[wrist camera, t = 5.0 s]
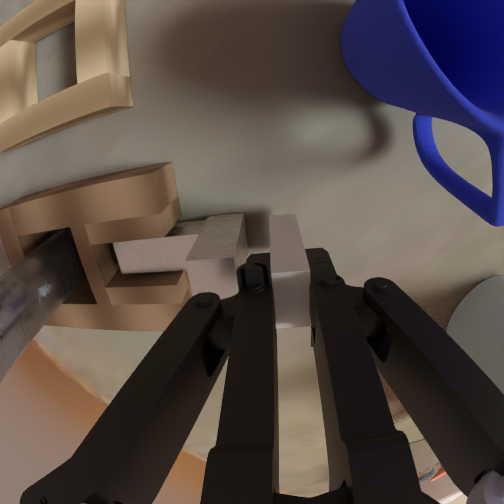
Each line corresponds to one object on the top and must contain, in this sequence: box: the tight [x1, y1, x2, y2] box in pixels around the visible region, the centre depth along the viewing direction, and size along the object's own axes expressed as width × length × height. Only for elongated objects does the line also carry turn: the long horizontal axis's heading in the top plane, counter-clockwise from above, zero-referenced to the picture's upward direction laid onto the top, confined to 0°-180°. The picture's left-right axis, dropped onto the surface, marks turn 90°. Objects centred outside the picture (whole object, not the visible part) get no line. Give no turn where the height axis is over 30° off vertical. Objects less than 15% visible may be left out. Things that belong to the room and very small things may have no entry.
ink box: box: [409, 439, 462, 504], centre depth 28 cm, size 9×8×12 cm
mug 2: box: [446, 275, 504, 394], centre depth 18 cm, size 14×9×10 cm
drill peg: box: [0, 227, 86, 383], centre depth 13 cm, size 4×4×15 cm
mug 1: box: [341, 0, 504, 227], centre depth 10 cm, size 8×12×10 cm
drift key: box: [113, 213, 248, 299], centre depth 16 cm, size 8×3×6 cm, turn 96°
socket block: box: [0, 162, 193, 331], centre depth 18 cm, size 14×10×4 cm
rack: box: [0, 0, 133, 152], centre depth 12 cm, size 10×10×3 cm
